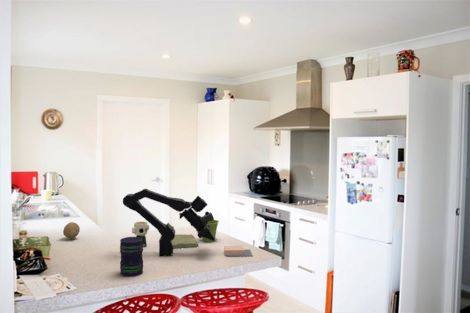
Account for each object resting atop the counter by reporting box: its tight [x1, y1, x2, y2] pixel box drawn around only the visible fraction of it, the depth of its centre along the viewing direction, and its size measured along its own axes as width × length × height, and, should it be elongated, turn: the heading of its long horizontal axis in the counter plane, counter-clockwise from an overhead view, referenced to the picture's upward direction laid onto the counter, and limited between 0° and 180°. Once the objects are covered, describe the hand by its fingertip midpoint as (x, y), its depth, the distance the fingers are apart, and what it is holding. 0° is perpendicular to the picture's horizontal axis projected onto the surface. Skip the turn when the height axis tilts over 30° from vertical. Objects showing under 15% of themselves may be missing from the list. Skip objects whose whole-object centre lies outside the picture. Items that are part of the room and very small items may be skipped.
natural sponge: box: [62, 221, 81, 240], centre depth 230 cm, size 9×9×10 cm
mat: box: [226, 249, 254, 258], centre depth 206 cm, size 13×11×1 cm
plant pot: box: [201, 219, 219, 243], centre depth 230 cm, size 12×12×11 cm
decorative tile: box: [171, 233, 199, 250], centre depth 223 cm, size 19×20×4 cm
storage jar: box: [119, 236, 144, 278], centre depth 175 cm, size 10×10×15 cm
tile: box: [223, 245, 246, 256], centre depth 205 cm, size 2×8×10 cm
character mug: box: [131, 221, 150, 247], centre depth 217 cm, size 11×7×13 cm, turn 139°
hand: (214, 240), depth 204 cm, fingers closed
